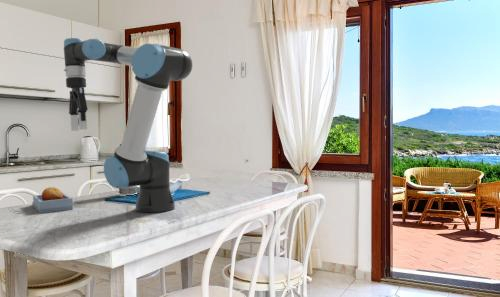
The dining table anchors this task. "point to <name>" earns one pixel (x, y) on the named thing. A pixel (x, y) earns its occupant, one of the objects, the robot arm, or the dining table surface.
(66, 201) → the blue-grey open box
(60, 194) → the fruit
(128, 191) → the decorative candle
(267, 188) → the dining table surface
